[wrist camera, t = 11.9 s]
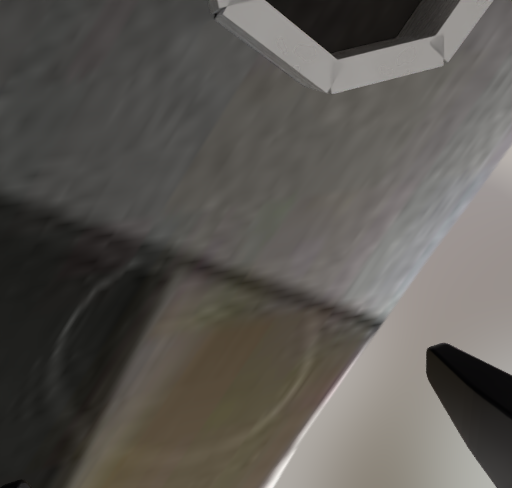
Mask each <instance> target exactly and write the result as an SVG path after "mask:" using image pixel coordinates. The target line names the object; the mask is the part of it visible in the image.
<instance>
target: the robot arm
mask: <svg viewBox="0 0 512 488" xmlns="http://www.w3.org/2000/svg"><path fill="white" fill-rule="evenodd" d="M426 359H427V360H426V373H427V377H428V380H429V382H430V384H431V386H432V387H433V389H434V391H435V393H436V394H437V396H438V398H439V399H440V401H441V403H442V405H443V406H444V408H445V410H446V411H447V413H448V415H449V416H450V418H451V420H452V422H453V423H454V425H455V427H456V428H457V430H458V432H459V433H460V435H461V437H462V438H463V440H464V442H465V443H466V445H467V447H468V448H469V449H470V451H471V452H472V454H473V455H474V457H475V458H476V460H477V461H478V462H479V464H480V465H481V466H482V468H483V469H484V471H485V472H486V473H487V475H488V476H489V478H490V479H491V480H492V482H493V483H494V484H495V486H496V487H497V488H512V375H510V374H508V373H506V372H504V371H502V370H500V369H498V368H496V367H494V366H492V365H490V364H487V363H486V362H484V361H482V360H480V359H478V358H476V357H474V356H472V355H470V354H468V353H466V352H464V351H462V350H460V349H458V348H456V347H454V346H452V345H450V344H446V343H440V344H437V345H434V346H431V347H429V348H428V349H427V352H426ZM0 488H32V487H31V486H30V484H29V483H28V482H27V481H25V480H18V481H14V482H11V483H8V484H5V485H3V486H2V487H0Z"/></svg>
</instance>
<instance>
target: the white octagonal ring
mask: <svg viewBox="0 0 512 488" xmlns="http://www.w3.org/2000/svg"><path fill="white" fill-rule="evenodd" d="M492 1H493V0H421V2H420V3H419V5H418V6H417V8H416V9H415V11H414V12H413V14H412V15H411V17H410V18H409V20H408V21H407V23H406V24H405V26H404V27H403V29H402V30H401V32H400V33H399V35H398V36H397V37H396V38H392V39H388V40H384V41H380V42H376V43H372V44H367V45H363V46H359V47H355V48H351V49H347V50H343V51H339V52H335V53H331V54H330V53H329V52H328V51H326V50H325V49H324V48H323V47H321V46H320V45H319V44H318V43H317V42H315V41H314V40H313V39H312V38H310V37H309V36H308V35H307V34H306V33H304V32H303V31H302V30H301V29H299V28H298V27H297V26H296V25H295V24H293V23H292V22H291V21H290V20H288V19H287V18H286V17H285V16H284V15H282V14H281V13H280V12H279V11H277V10H276V9H275V8H274V7H273V6H271V5H270V4H269V3H268V2H266V1H265V0H208V4H209V8H210V13H211V14H216V13H217V15H216V17H215V19H214V20H215V21H217V22H218V23H219V24H221V25H222V26H223V27H225V28H226V29H227V30H229V31H230V32H231V33H233V34H234V35H235V36H237V37H238V38H239V39H241V40H242V41H243V42H245V43H246V44H247V45H249V46H250V47H251V48H253V49H254V50H255V51H257V52H258V53H259V54H261V55H262V56H264V57H265V58H266V59H268V60H269V61H270V62H272V63H273V64H274V65H276V66H277V67H278V68H280V69H281V70H282V71H284V72H285V73H286V74H288V75H289V76H290V77H292V78H293V79H294V80H296V81H297V82H298V83H300V84H301V85H302V86H304V87H307V88H310V89H314V90H317V91H321V92H324V93H329V94H334V93H338V92H342V91H346V90H350V89H354V88H358V87H362V86H366V85H370V84H374V83H378V82H382V81H386V80H389V79H393V78H397V77H401V76H405V75H409V74H413V73H417V72H421V71H425V70H429V69H433V68H437V67H441V66H443V62H449V60H450V59H451V58H452V56H453V55H454V53H455V52H456V51H457V49H458V48H459V47H460V45H461V44H462V42H463V41H464V40H465V38H466V37H467V36H468V34H469V33H470V32H471V30H472V29H473V27H474V26H475V25H476V23H477V22H478V21H479V19H480V18H481V16H482V15H483V14H484V12H485V11H486V10H487V8H488V7H489V6H490V4H491V3H492Z"/></svg>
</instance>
